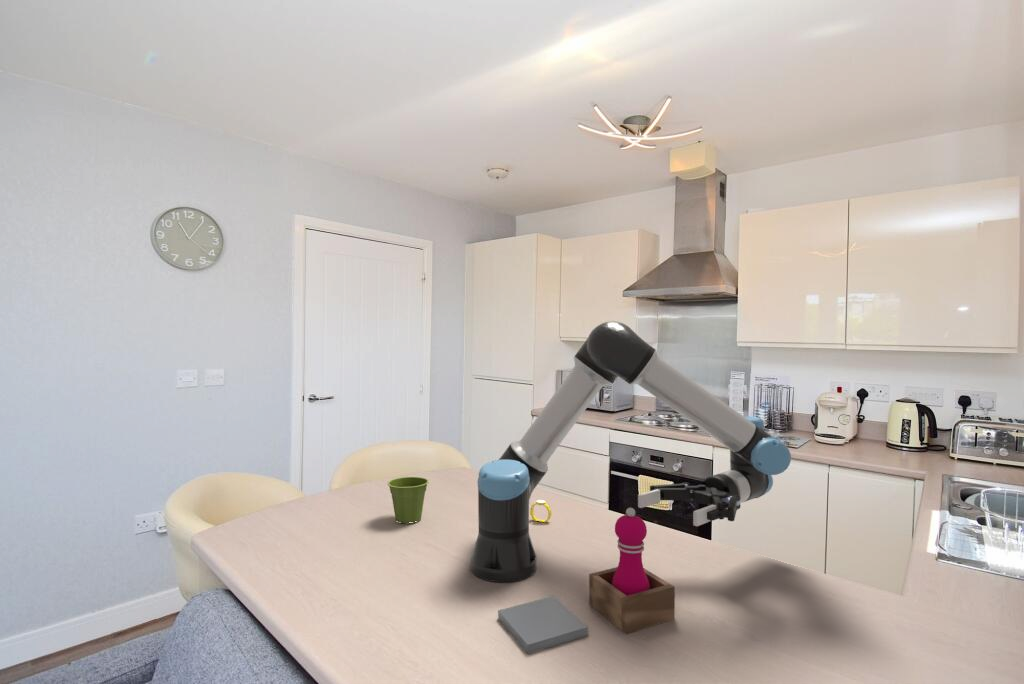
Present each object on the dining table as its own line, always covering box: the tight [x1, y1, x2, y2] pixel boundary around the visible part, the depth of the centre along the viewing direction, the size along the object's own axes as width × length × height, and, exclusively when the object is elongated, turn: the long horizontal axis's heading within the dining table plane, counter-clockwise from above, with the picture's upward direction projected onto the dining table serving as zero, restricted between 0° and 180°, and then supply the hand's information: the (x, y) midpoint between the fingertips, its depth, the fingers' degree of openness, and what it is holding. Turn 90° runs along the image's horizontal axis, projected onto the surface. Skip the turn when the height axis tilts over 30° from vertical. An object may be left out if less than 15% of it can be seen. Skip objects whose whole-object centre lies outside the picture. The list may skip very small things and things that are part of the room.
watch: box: [529, 499, 552, 524], centre depth 146 cm, size 6×3×6 cm, turn 65°
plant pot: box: [386, 476, 430, 524], centre depth 148 cm, size 12×12×11 cm
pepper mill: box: [612, 507, 650, 596], centre depth 98 cm, size 7×7×20 cm
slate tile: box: [497, 595, 589, 655], centre depth 93 cm, size 12×12×2 cm
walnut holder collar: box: [588, 566, 676, 635], centre depth 98 cm, size 11×11×6 cm
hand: (665, 509), depth 104 cm, fingers open, 13 cm apart
